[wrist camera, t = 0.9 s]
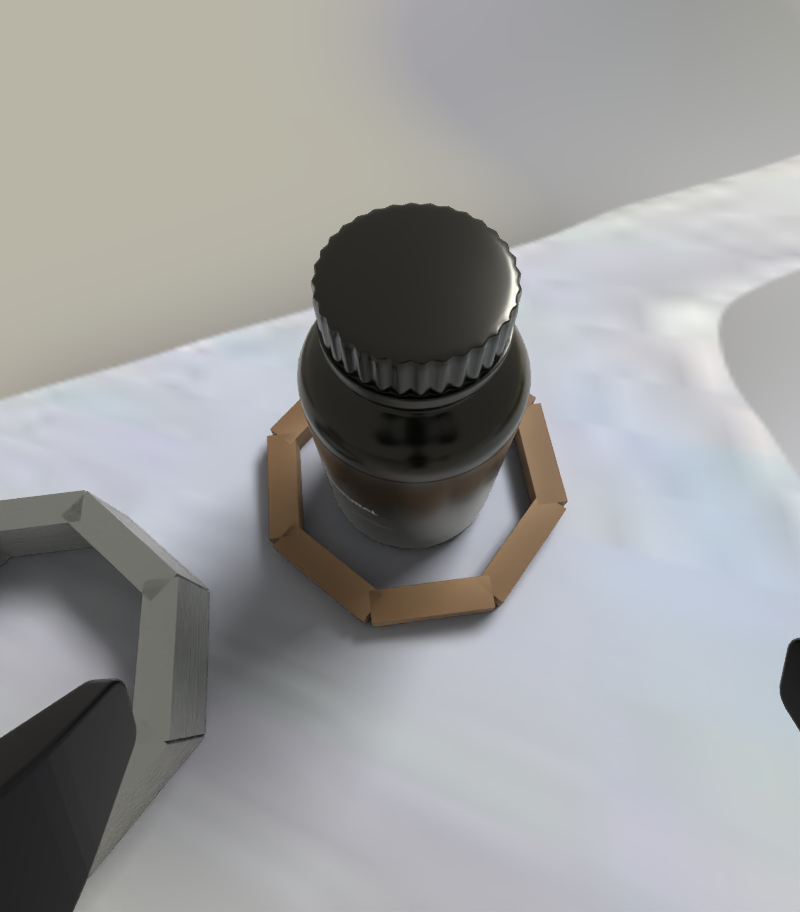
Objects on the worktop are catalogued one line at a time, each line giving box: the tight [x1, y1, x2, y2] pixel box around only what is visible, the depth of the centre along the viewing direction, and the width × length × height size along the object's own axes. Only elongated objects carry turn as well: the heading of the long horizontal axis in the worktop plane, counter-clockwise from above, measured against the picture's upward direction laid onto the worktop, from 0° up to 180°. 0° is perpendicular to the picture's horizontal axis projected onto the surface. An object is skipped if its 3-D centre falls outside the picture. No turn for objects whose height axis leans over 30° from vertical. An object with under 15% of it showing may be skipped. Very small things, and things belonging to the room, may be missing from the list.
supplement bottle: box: [297, 203, 531, 549], centre depth 17 cm, size 7×7×12 cm
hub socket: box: [0, 490, 210, 877], centre depth 18 cm, size 12×12×3 cm
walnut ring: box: [267, 394, 567, 627], centre depth 22 cm, size 12×12×1 cm
